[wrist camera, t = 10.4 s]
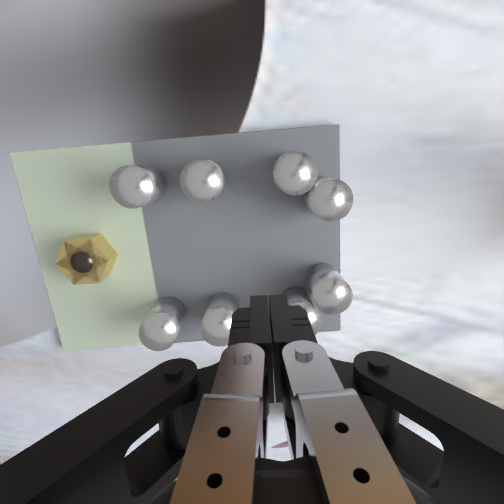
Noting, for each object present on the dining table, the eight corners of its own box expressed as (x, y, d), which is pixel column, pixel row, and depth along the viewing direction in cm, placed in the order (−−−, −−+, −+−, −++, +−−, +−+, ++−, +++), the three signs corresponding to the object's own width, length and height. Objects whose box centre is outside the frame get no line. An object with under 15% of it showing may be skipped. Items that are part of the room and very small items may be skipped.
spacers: (127, 166, 31) (105, 167, 27) (337, 148, 31) (353, 146, 26) (156, 326, 36) (141, 352, 31) (338, 312, 36) (352, 336, 31)
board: (15, 152, 32) (8, 152, 31) (336, 125, 31) (339, 124, 30) (67, 346, 38) (63, 351, 37) (338, 326, 37) (340, 330, 36)
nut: (63, 235, 33) (49, 241, 31) (114, 232, 33) (103, 238, 31) (73, 277, 35) (59, 285, 32) (121, 274, 35) (112, 282, 32)
